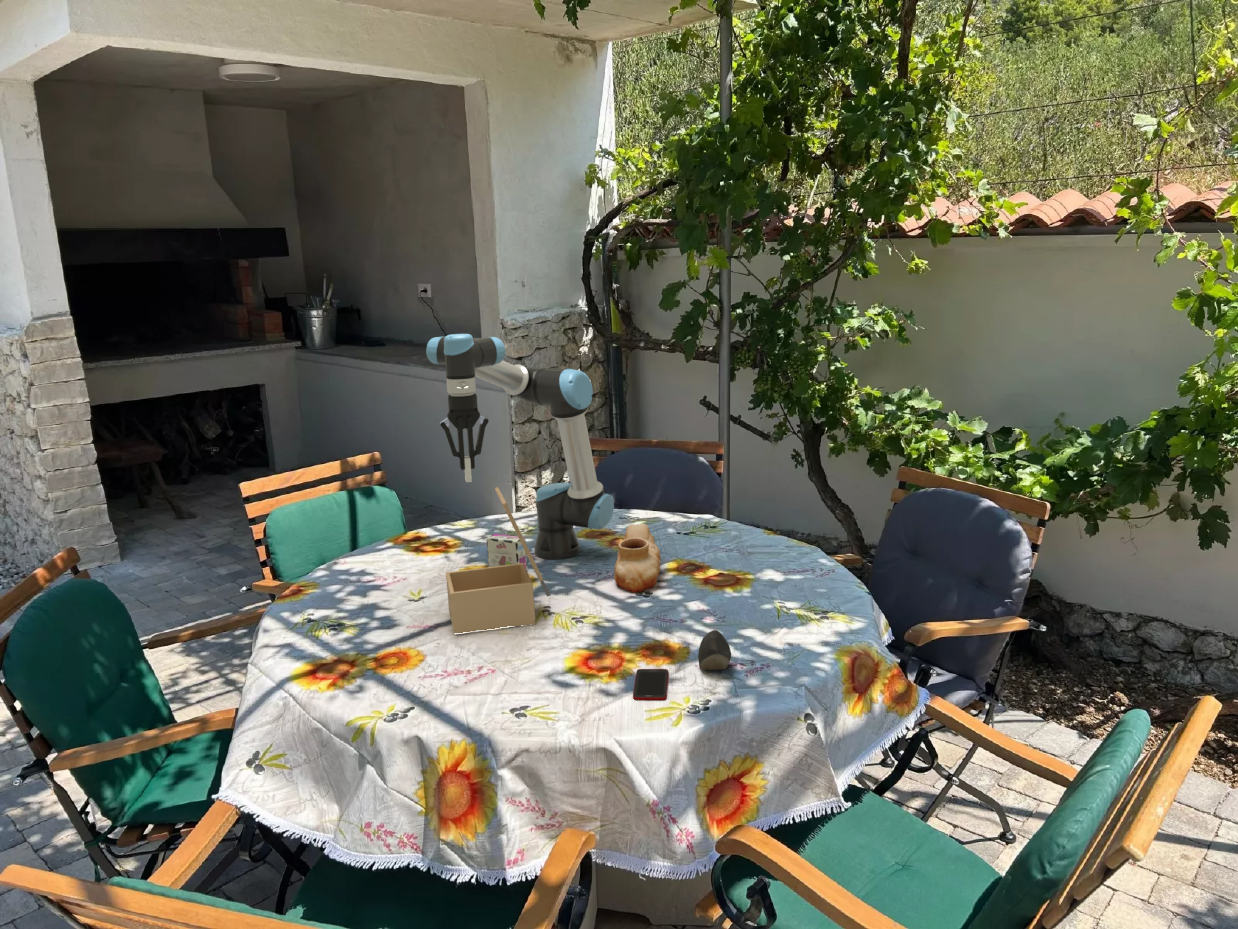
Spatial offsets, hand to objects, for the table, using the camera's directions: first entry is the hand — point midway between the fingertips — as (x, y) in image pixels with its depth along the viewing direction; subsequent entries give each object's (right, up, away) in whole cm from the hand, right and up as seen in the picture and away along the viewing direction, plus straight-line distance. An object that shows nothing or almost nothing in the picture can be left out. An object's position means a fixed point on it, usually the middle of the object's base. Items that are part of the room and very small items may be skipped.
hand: (468, 480), depth 251 cm
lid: (+14, -18, +8) cm, 24 cm away
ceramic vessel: (+46, -31, +37) cm, 66 cm away
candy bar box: (+7, -33, +32) cm, 47 cm away
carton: (+5, -39, +11) cm, 40 cm away
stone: (+64, -45, -25) cm, 82 cm away
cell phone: (+48, -48, -31) cm, 75 cm away
